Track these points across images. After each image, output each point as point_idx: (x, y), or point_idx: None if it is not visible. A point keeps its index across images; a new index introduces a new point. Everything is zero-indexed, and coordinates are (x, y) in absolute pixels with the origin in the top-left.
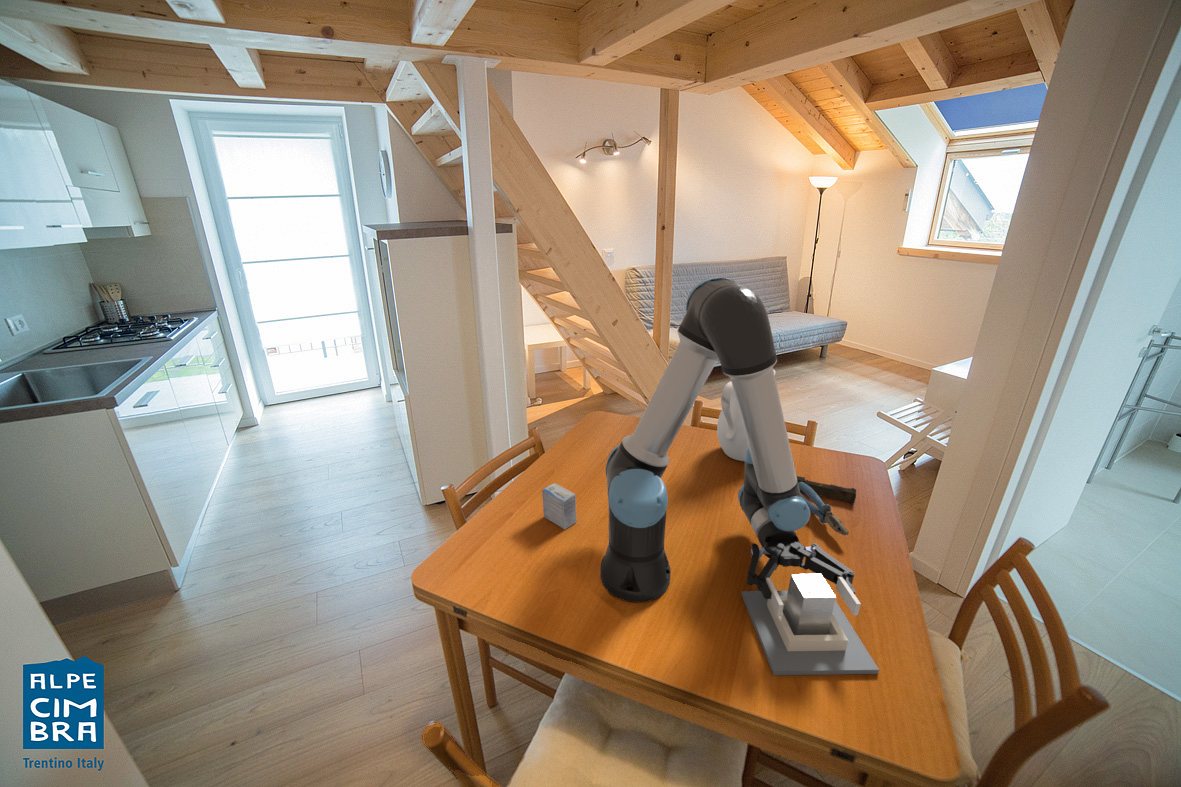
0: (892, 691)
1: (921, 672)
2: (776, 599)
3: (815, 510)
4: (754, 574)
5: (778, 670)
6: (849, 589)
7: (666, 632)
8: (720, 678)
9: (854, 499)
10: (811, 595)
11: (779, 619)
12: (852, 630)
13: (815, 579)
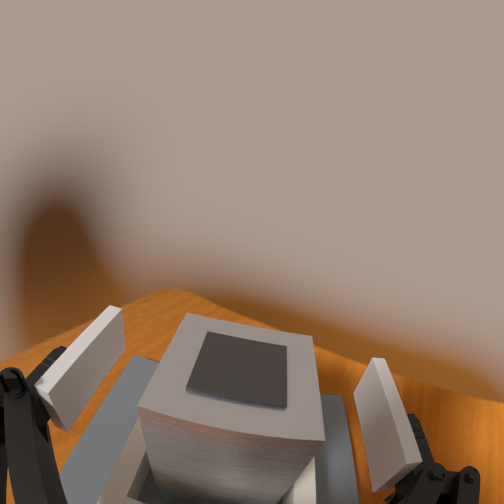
0: (142, 341)
1: (67, 338)
2: (391, 375)
3: None
4: (460, 474)
5: (334, 395)
6: (79, 343)
7: (499, 456)
8: (419, 400)
9: None
10: (279, 336)
11: (314, 463)
12: (95, 423)
13: (205, 384)
